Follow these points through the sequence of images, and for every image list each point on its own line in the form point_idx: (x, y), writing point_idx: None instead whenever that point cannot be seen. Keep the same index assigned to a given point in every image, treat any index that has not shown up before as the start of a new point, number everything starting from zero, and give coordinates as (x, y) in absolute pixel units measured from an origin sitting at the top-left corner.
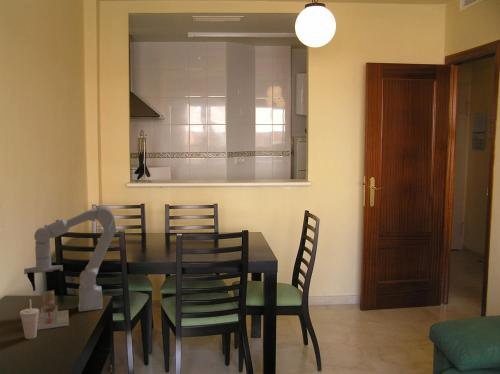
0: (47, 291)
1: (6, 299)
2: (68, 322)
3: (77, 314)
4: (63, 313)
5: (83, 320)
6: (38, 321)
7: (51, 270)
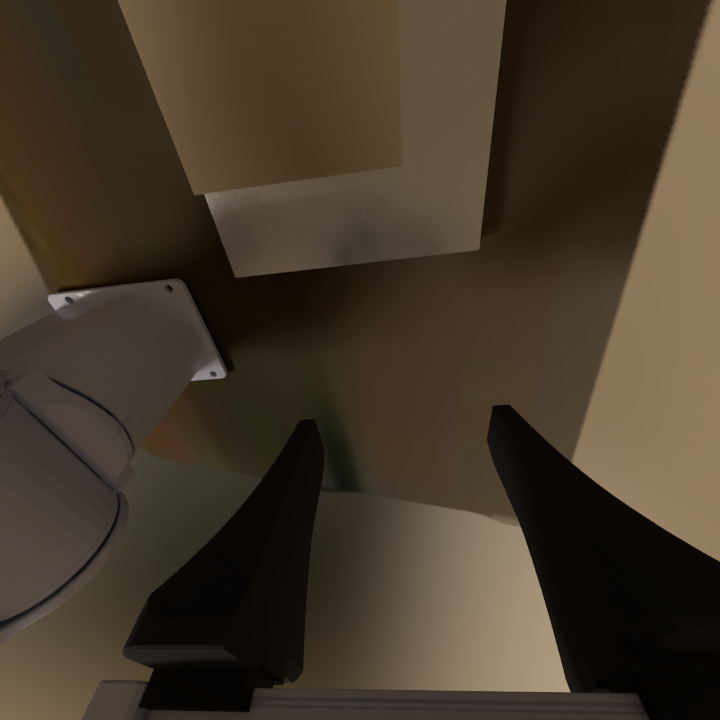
0: (306, 128)
1: None
2: None
3: (174, 233)
4: (245, 207)
5: (46, 52)
6: (421, 14)
7: (296, 716)
